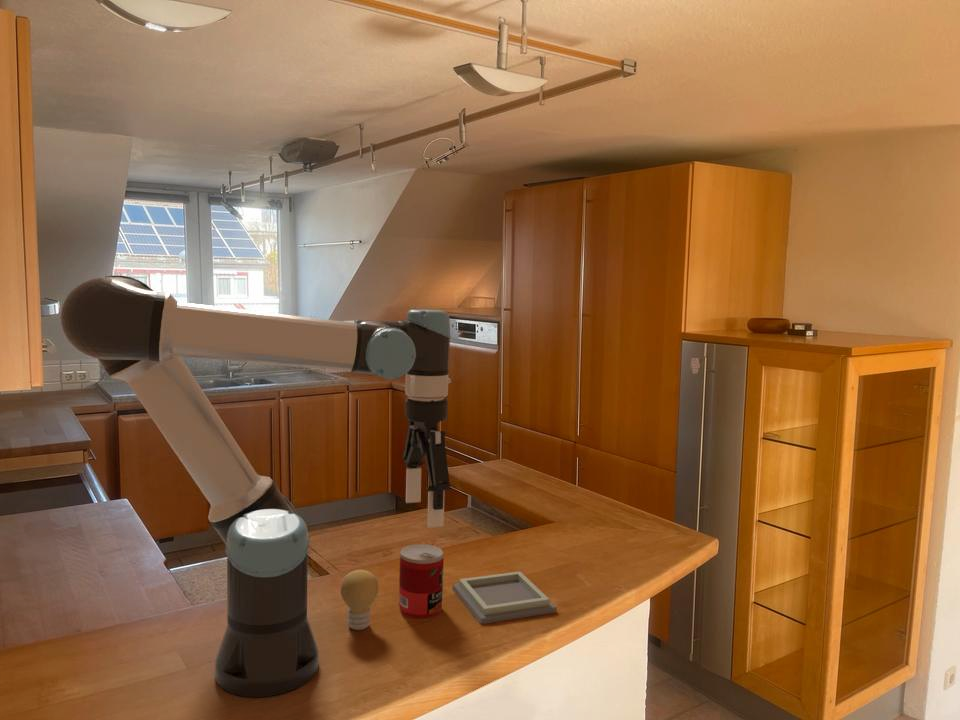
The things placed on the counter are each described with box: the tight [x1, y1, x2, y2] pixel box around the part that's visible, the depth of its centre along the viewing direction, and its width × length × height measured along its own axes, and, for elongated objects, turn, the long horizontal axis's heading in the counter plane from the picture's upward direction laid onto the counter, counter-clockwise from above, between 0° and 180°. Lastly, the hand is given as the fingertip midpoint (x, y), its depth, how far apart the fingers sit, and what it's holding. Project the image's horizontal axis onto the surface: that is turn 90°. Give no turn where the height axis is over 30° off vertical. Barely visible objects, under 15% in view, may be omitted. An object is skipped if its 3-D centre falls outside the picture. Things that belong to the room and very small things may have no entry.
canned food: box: [398, 543, 445, 620], centre depth 131 cm, size 8×8×11 cm
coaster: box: [452, 571, 557, 625], centre depth 136 cm, size 15×15×2 cm
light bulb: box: [340, 569, 379, 631], centre depth 123 cm, size 6×6×10 cm
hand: (423, 513), depth 129 cm, fingers open, 13 cm apart
